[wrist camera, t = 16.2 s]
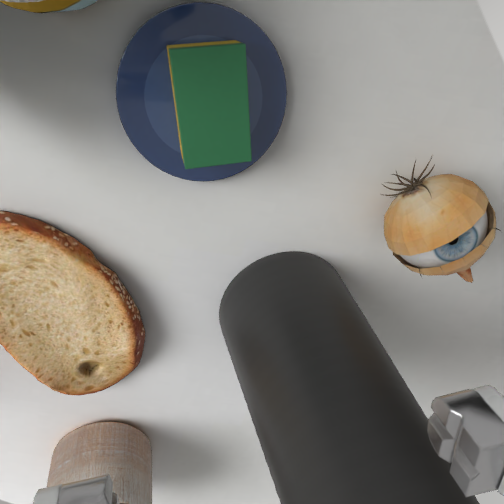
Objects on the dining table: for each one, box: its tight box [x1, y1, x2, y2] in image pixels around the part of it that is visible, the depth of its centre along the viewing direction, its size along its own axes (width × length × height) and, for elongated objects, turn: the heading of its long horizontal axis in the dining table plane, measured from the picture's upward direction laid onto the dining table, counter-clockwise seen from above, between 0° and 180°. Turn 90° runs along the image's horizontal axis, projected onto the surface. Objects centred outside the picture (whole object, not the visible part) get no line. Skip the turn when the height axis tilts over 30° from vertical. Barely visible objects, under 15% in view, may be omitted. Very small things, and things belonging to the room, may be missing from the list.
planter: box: [47, 422, 152, 504], centre depth 47 cm, size 11×11×10 cm
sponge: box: [167, 40, 252, 169], centre depth 32 cm, size 8×5×4 cm, turn 3°
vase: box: [219, 252, 479, 504], centre depth 34 cm, size 14×14×29 cm
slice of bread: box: [0, 211, 145, 395], centre depth 39 cm, size 18×18×4 cm
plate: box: [116, 2, 287, 181], centre depth 34 cm, size 13×13×1 cm
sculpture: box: [381, 155, 499, 283], centre depth 40 cm, size 9×9×15 cm
